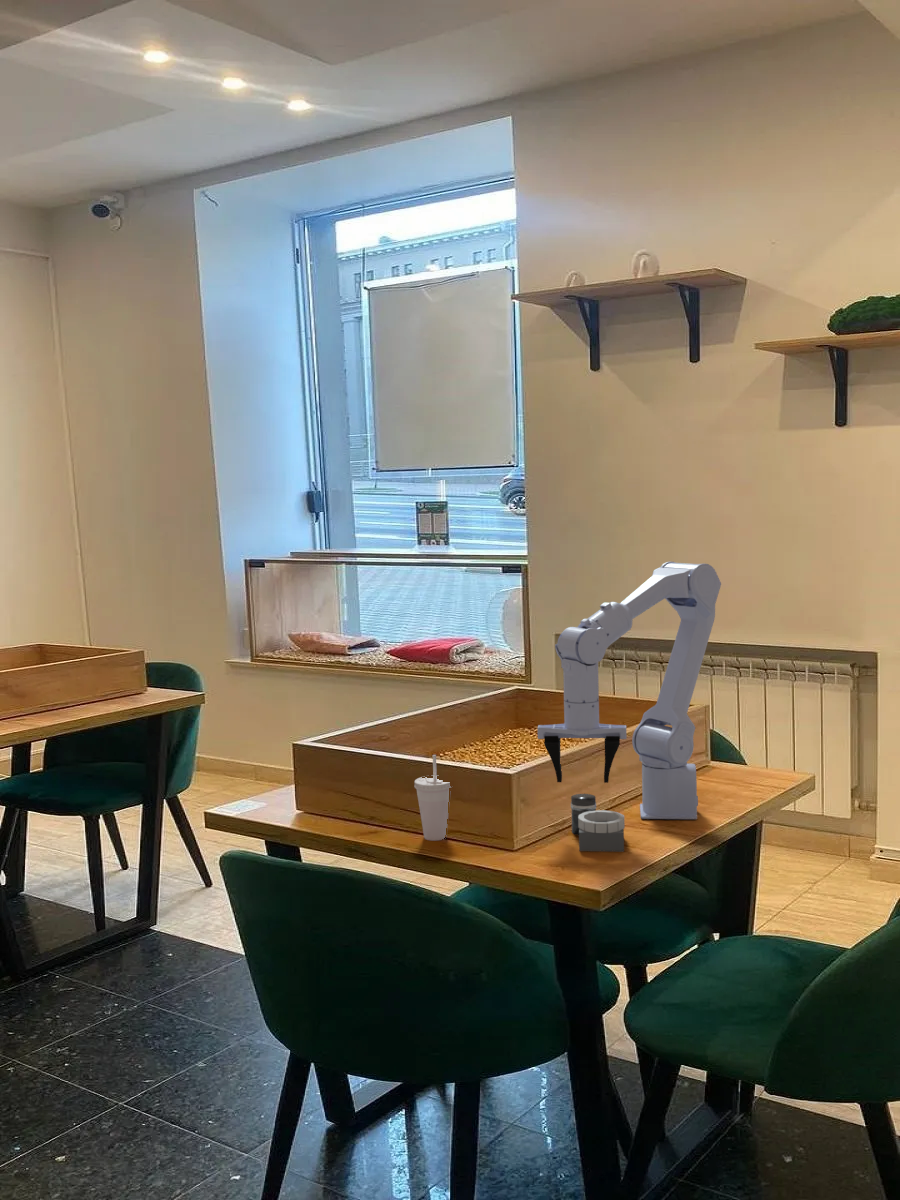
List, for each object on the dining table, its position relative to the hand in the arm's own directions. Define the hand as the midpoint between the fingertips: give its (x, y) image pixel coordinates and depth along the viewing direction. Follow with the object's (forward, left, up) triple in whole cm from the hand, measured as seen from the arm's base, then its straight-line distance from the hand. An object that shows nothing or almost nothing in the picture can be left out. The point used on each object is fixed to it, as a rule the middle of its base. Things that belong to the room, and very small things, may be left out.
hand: (582, 781), depth 187 cm
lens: (0, 0, -9) cm, 9 cm away
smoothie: (+24, +4, -9) cm, 26 cm away
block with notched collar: (-3, +6, -9) cm, 11 cm away
